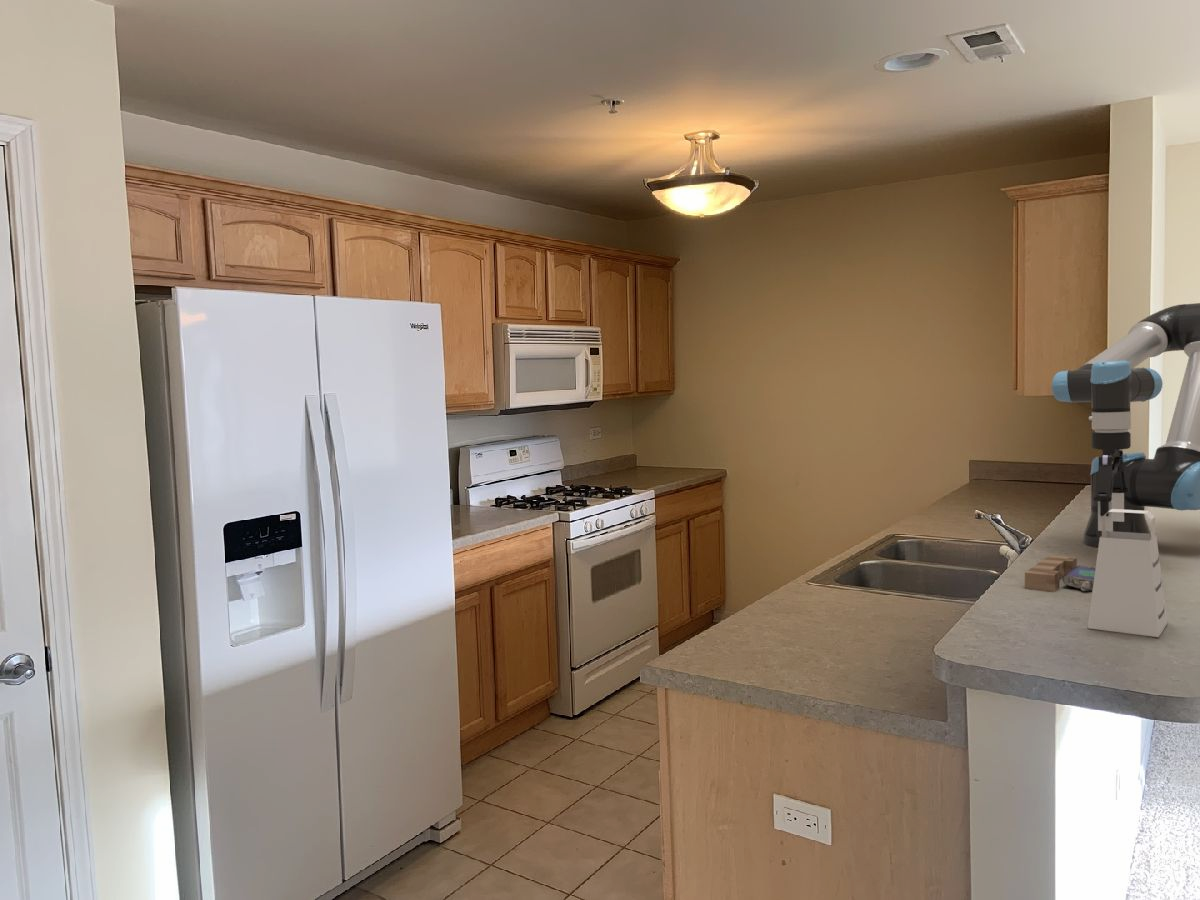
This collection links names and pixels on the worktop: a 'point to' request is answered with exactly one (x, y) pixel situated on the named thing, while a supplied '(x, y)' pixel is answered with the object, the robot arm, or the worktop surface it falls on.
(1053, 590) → the holder
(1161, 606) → the grater
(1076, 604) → the worktop surface
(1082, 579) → the flask
